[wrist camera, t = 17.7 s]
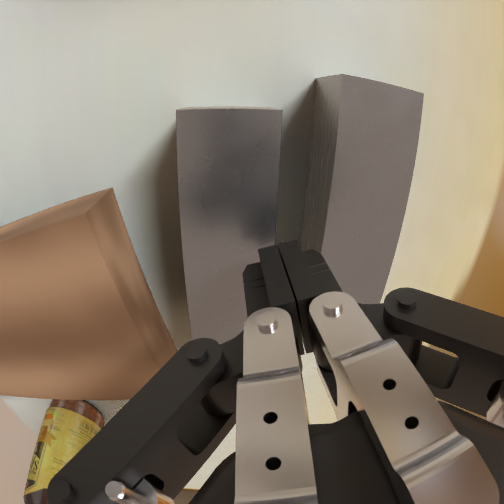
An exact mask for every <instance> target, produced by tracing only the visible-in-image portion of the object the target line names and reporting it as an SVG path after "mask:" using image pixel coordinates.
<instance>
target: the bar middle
mask: <svg viewBox="0 0 504 504" xmlns="http://www.w3.org/2000/svg"><path fill="white" fill-rule="evenodd" d="M281 129H282V110H279V109H274V108H269V107H187V108H182V109H178V110H176V139H177V171H178V193H179V211H180V226H181V240H182V252H183V264H184V275H185V285H186V294H187V304H188V312H189V321H190V329H191V337H192V340H195V339H198V338H210V339H213V340H216V341H217V342H218V343H219V344H222V343H225V342H227V341H229V340H231V339H233V338H235V337H236V336H237V335H239V334H240V333H241V332H242V331H243V330H244V323H245V321H246V319H247V318H248V317H247V309H246V301H245V292H244V283H243V275H242V273H243V272H244V270H245V268H246V266H247V265H249V264H253V263H257V262H260V258H259V253H258V249H260V248H264V247H269V246H273V245H275V231H276V216H277V200H278V183H279V166H280V148H281Z"/></svg>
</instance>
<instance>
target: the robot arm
mask: <svg viewBox="0 0 504 504" xmlns="http://www.w3.org/2000/svg"><path fill="white" fill-rule="evenodd" d="M278 251H279V252H278ZM258 253H259V258H260V262H257V263H253V264H249V265H247V266H246V268H245V270H244V272H243V273H242V275H243V283H244V292H245V301H246V309H247V317H248V318H247V319H246V321H245V323H244V330H243V331H242V332H241V333H240V334H239V335H237V336H236V337H235V338H233V339H231V340H229V341H227V342H225V343H222V344H219V343H218V342H217V341H216V340H213V339H210V338H198V339H195V340H192V341H190V342H188V343H186V344H185V345H184V346H182V347H181V348H180V349H179V350H178V351H177V352H176V353H175V355H174V356H173V357H172V358H171V359H170V360H169V361H168V362H167V363H166V364H165V365H164V366H163V367H162V368H161V369H160V370H159V371H158V372H157V373H156V374H155V375H154V376H153V377H152V378H151V379H150V380H149V381H148V382H147V383H146V384H145V385H144V386H143V387H142V388H141V389H140V390H139V391H138V392H137V393H136V394H135V396H134V397H133V398H132V399H131V400H130V401H129V402H128V403H127V404H126V405H125V406H124V407H123V408H122V409H121V410H120V411H119V412H118V413H117V414H116V415H115V416H114V417H113V418H112V419H111V420H110V421H109V422H108V423H107V424H106V425H105V426H104V427H103V428H102V429H101V430H100V431H99V432H98V433H97V434H96V435H95V436H94V437H93V438H92V439H91V440H90V441H89V442H88V443H87V444H86V445H85V446H84V447H83V448H82V449H81V450H80V451H79V452H78V453H77V454H76V455H75V456H74V457H73V458H72V459H71V460H70V461H69V462H68V463H67V464H66V465H65V466H64V467H63V468H62V469H61V470H60V471H59V472H58V473H56V474H55V475H54V477H53V478H52V479H51V480H50V482H49V484H48V488H47V499H48V503H49V504H174V502H173V499H174V498H175V497H176V496H177V495H178V493H179V492H180V491H181V490H182V489H183V488H184V487H185V485H186V484H187V483H188V482H189V481H190V480H191V478H192V477H193V476H194V475H195V474H196V473H197V471H198V470H199V469H200V468H201V467H202V465H203V464H204V463H205V462H206V460H207V459H208V458H209V457H210V456H211V454H212V453H213V452H214V451H215V449H216V448H217V447H218V446H219V444H220V443H221V442H222V441H223V439H224V438H225V437H226V435H227V434H228V433H229V432H230V430H231V429H232V428H233V426H234V425H235V424H236V451H235V452H234V453H232V454H231V455H229V456H228V457H227V458H226V459H225V460H223V461H222V462H221V463H220V464H219V466H218V467H217V468H216V469H215V470H214V471H213V473H212V474H211V475H210V477H209V478H208V479H207V481H206V482H205V483H204V485H203V486H202V487H201V489H200V490H199V491H198V492H197V494H196V495H195V496H194V498H193V499H192V500H191V501H190V503H189V504H504V317H501V316H498V315H494V314H492V313H489V312H485V311H482V310H479V309H476V308H473V307H470V306H467V305H464V304H461V303H458V302H455V301H451V300H448V299H445V298H442V297H439V296H436V295H433V294H429V293H426V292H423V291H420V290H417V289H413V288H399V289H396V290H393V291H391V292H390V293H389V294H388V295H387V296H386V297H385V300H384V303H382V304H361V303H357V302H356V301H355V300H354V298H353V297H352V296H350V295H348V294H346V293H343V291H342V289H341V288H340V286H339V284H338V282H337V280H336V279H335V277H334V275H333V273H332V272H331V270H330V268H329V266H328V264H326V261H325V259H324V257H323V256H322V254H320V253H319V252H317V251H315V250H313V249H310V250H306V251H301V249H300V247H299V244H298V242H297V240H293V241H289V242H285V243H281V244H278V249H277V246H276V245H273V246H269V247H264V248H260V249H258ZM302 341H303V342H302ZM422 341H423V342H426V343H429V344H431V345H434V346H437V347H439V348H442V349H445V350H447V351H450V352H453V353H455V354H456V355H457V356H458V357H459V358H455V357H452V356H450V355H447V354H444V353H442V352H439V351H436V350H434V349H431V348H429V347H426V346H423V345H422ZM303 344H304V347H305V351H306V353H310V352H314V355H315V358H316V364H317V370H318V373H319V375H320V378H321V380H322V383H323V385H324V387H325V390H326V392H327V394H328V397H329V399H330V401H331V404H332V406H333V409H334V411H335V414H336V417H337V422H335V423H331V424H310V423H309V417H308V410H307V404H306V397H305V391H304V385H303V378H302V373H301V372H302V361H301V356H300V355H303V354H304V348H303ZM435 397H437V398H439V399H441V400H444V401H446V402H449V403H451V404H454V405H456V406H459V407H461V408H464V409H466V410H469V411H472V412H474V413H477V414H479V415H482V416H484V417H487V420H484V419H482V418H479V417H477V416H475V415H472V414H470V413H468V412H465V411H463V410H461V409H459V408H457V407H454V406H452V405H450V404H447V403H445V402H441V401H438V400H436V398H435Z"/></svg>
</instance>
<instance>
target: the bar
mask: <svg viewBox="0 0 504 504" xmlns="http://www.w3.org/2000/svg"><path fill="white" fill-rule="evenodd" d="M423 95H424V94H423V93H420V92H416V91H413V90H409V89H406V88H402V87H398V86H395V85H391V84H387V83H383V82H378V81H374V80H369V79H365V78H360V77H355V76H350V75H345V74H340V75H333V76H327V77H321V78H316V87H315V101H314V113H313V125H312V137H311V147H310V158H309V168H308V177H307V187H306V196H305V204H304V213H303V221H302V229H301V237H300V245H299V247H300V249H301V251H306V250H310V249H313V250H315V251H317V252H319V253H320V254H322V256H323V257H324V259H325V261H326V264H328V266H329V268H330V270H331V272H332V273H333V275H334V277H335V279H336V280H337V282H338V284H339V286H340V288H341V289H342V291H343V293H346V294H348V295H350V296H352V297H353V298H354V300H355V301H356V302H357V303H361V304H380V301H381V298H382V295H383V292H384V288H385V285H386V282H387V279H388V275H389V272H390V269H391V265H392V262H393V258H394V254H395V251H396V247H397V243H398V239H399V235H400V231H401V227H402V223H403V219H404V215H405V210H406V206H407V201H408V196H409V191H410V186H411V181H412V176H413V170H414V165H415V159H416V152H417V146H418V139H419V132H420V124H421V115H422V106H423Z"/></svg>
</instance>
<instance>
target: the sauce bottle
mask: <svg viewBox="0 0 504 504" xmlns="http://www.w3.org/2000/svg"><path fill="white" fill-rule="evenodd" d="M103 425H104V418H103V416H102V414H101V413H100V412H99V411H98V410H97V409H96V408H94V407H93V406H92V405H90V404H88V403H87V402H85V401H83V400H63V399H53V400H52V402H51V405H50V408H48V409H47V411H46V414H45V417H44V421H43V424H42V427H41V430H40V433H39V437H38V440H37V443H36V447H35V450H34V455H33V458H32V461H31V465H30V470H29V474H28V478H27V483H26V487H25V492H24V502H25V504H49V503H48V499H47V488H48V484H49V482H50V480H51V479H52V478H53V477H54V475H55V474H56V473H58V472H59V471H60V470H61V469H62V468H63V467H64V466H65V465H66V464H67V463H68V462H69V461H70V460H71V459H72V458H73V457H74V456H75V455H76V454H77V453H78V452H79V451H80V450H81V449H82V448H83V447H84V446H85V445H86V444H87V443H88V442H89V441H90V440H91V439H92V438H93V437H94V436H95V435H96V434H97V433H98V432H99V431H100V430H101V429H102V428H103Z"/></svg>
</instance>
